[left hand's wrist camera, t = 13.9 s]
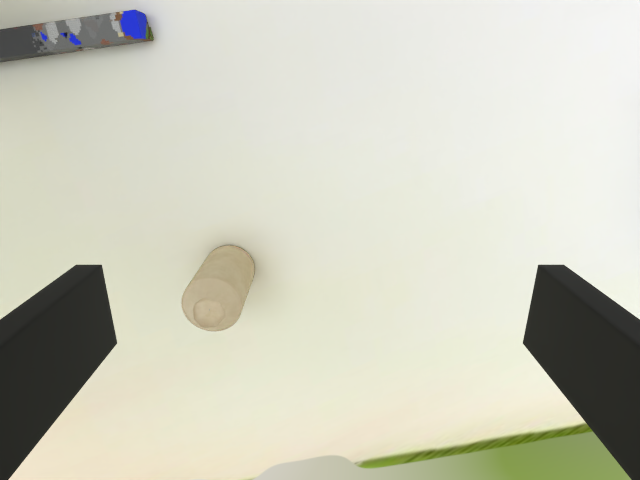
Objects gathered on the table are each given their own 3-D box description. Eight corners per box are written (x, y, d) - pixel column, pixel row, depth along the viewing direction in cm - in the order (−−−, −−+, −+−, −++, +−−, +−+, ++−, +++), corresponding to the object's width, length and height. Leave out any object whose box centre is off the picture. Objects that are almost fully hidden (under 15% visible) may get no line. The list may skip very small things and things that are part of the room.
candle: (205, 242, 45) (174, 283, 36) (255, 246, 45) (239, 288, 36) (205, 288, 47) (177, 338, 37) (254, 291, 47) (238, 342, 38)
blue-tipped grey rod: (-84, 41, 36) (138, 9, 35) (-63, 44, 38) (148, 13, 37) (-73, 68, 37) (145, 37, 36) (-52, 69, 39) (155, 39, 38)
